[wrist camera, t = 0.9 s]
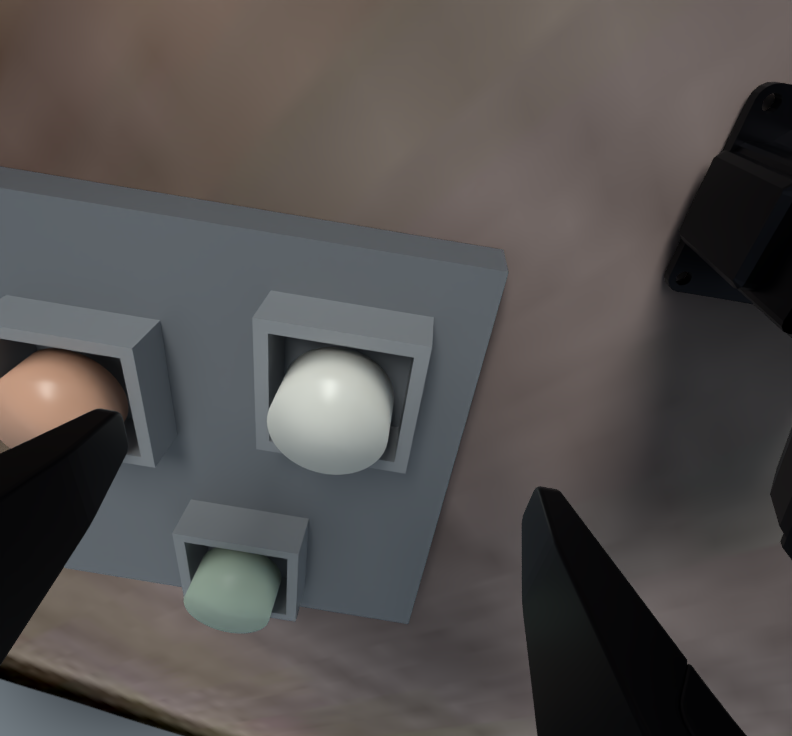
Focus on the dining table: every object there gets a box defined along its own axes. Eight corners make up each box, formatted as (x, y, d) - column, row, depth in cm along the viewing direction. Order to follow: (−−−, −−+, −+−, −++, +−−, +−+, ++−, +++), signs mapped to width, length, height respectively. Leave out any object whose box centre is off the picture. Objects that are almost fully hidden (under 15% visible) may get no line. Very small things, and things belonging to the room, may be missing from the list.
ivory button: (401, 357, 17) (396, 393, 15) (386, 443, 19) (380, 483, 18) (284, 337, 17) (266, 371, 15) (283, 426, 19) (267, 464, 18)
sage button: (281, 553, 24) (269, 592, 22) (281, 600, 26) (269, 639, 24) (198, 539, 24) (179, 577, 22) (204, 587, 26) (188, 625, 24)
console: (503, 249, 18) (514, 299, 15) (410, 591, 31) (405, 660, 27) (-46, 158, 18) (-157, 187, 15) (85, 538, 31) (41, 600, 27)
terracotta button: (118, 357, 18) (85, 391, 16) (136, 439, 20) (108, 476, 19) (8, 339, 18) (-37, 371, 16) (38, 423, 20) (1, 458, 19)
